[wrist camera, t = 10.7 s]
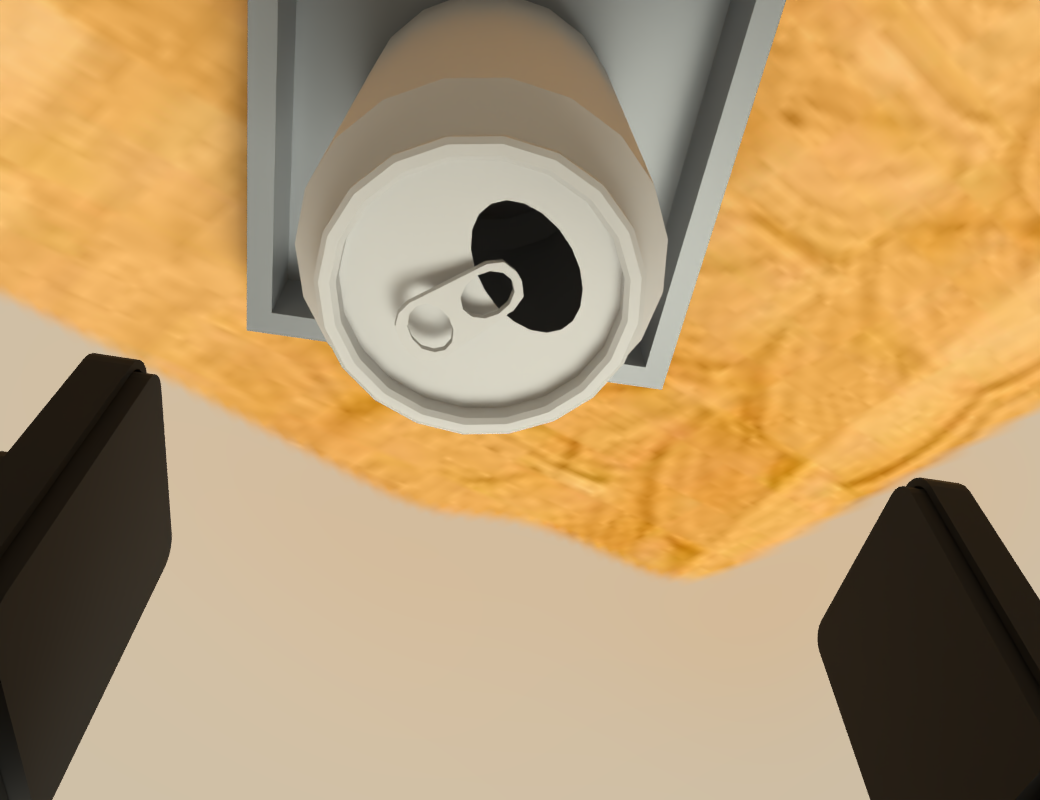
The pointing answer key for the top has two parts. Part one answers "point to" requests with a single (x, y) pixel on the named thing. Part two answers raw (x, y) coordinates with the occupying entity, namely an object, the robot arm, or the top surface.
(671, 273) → the bin
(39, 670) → the robot arm
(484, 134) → the can
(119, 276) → the top surface
